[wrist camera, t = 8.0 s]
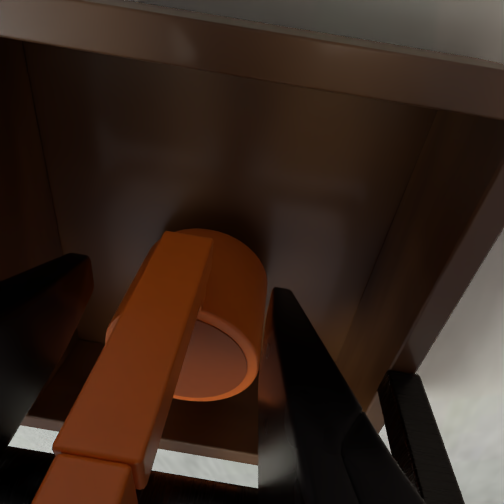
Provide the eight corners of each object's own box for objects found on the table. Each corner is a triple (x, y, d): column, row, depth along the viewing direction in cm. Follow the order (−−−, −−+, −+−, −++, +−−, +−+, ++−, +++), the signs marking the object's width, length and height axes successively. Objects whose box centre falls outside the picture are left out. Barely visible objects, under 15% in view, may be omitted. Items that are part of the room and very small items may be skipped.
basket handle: (-34, 321, 11) (-215, 492, 7) (-46, 292, 11) (-254, 462, 7) (406, 395, 11) (469, 609, 7) (421, 371, 10) (501, 591, 6)
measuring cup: (148, 310, 15) (17, 602, 8) (138, 164, 11) (-146, 497, 4) (258, 328, 15) (222, 637, 8) (288, 189, 11) (268, 567, 4)
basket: (69, 341, 18) (12, 424, 14) (-8, -22, 10) (-183, -44, 6) (338, 386, 18) (350, 481, 14) (481, 58, 10) (593, 84, 6)
